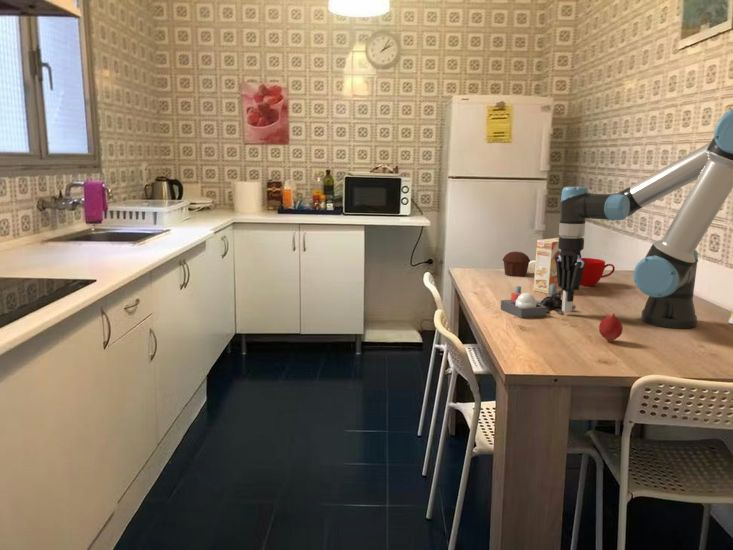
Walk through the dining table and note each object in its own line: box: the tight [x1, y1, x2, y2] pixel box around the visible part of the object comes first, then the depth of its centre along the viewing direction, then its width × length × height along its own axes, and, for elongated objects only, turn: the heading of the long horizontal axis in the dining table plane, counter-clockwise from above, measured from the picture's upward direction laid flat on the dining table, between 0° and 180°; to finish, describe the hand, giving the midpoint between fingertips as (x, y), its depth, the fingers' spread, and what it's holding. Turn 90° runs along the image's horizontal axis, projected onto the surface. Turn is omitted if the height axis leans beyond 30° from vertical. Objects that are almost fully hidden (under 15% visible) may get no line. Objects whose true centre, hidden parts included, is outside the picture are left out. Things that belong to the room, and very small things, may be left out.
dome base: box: [500, 292, 547, 319], centre depth 187 cm, size 12×9×5 cm
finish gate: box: [514, 284, 556, 304], centre depth 201 cm, size 2×16×6 cm, turn 108°
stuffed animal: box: [539, 291, 577, 316], centre depth 193 cm, size 12×10×12 cm
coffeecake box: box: [533, 237, 562, 295], centre depth 221 cm, size 15×7×20 cm, turn 129°
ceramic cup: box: [580, 257, 616, 288], centre depth 232 cm, size 13×17×10 cm
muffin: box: [502, 251, 531, 278], centre depth 253 cm, size 12×11×10 cm
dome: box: [516, 292, 538, 308], centre depth 185 cm, size 6×6×6 cm
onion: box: [598, 312, 624, 343], centre depth 157 cm, size 6×6×8 cm
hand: (566, 310), depth 186 cm, fingers closed
